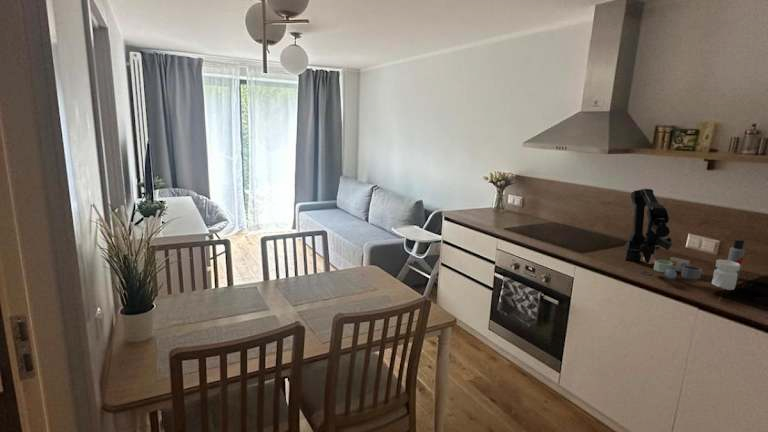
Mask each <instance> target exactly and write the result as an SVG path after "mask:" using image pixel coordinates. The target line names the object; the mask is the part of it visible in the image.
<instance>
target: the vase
mask: <svg viewBox="0 0 768 432" xmlns="http://www.w3.org/2000/svg"><path fill="white" fill-rule="evenodd" d="M715 267H716V269H714V270H713V275H712V276H713V277H712V280H711V284H712V285H713V286H716V287H717V288H721V289H722V290H725V289H726V290H727V291H732V290H735V288H736V286H737V280H738V279H737V276H738V274H737V273H736V271H738V270H739V268H740V264H739V263H737V262H733V261H729V260H728V259H716V261H715Z"/></svg>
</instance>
